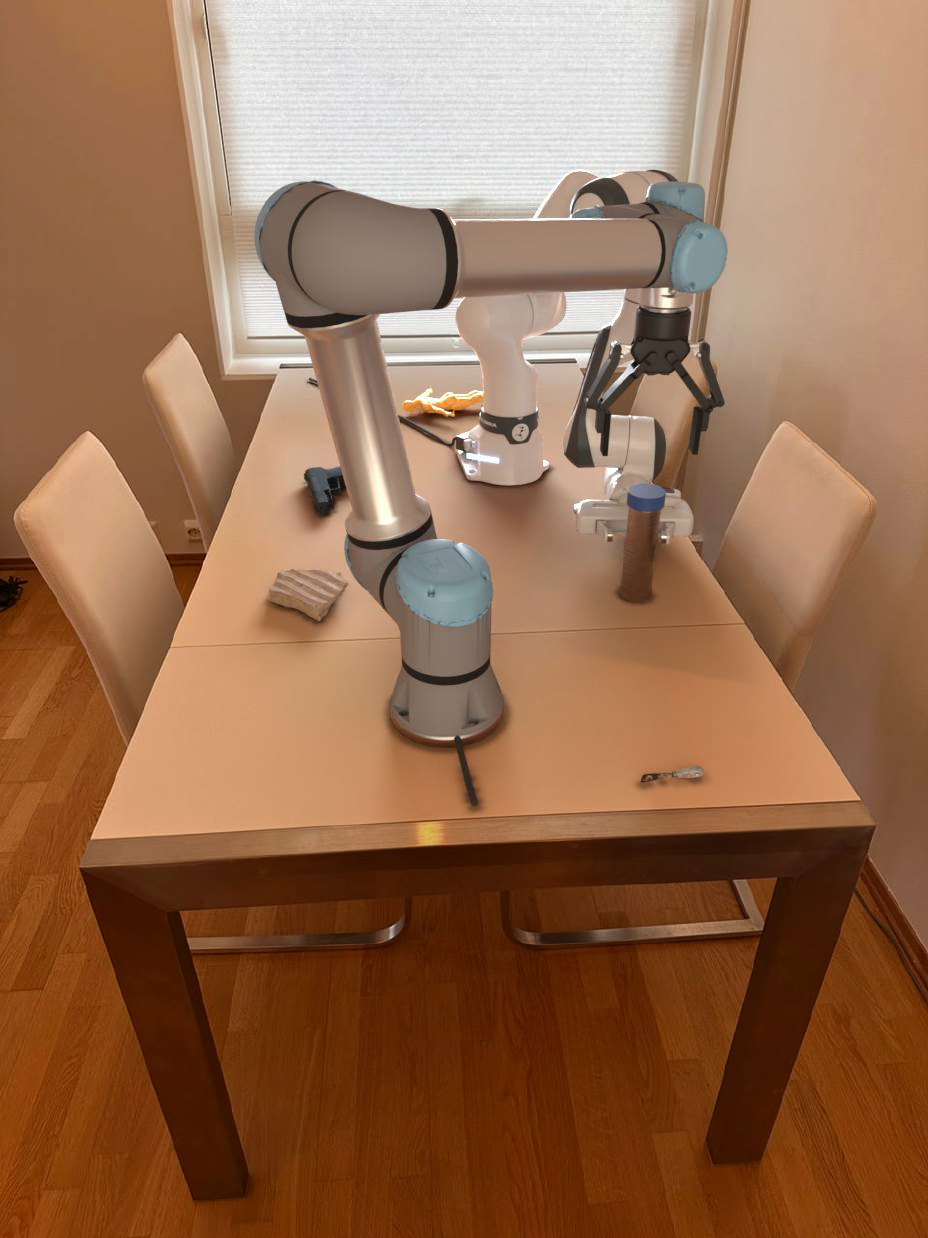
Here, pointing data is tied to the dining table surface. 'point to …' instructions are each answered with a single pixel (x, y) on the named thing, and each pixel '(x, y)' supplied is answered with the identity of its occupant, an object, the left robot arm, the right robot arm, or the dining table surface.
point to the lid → (646, 497)
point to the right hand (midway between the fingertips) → (636, 539)
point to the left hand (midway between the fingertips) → (648, 452)
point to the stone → (307, 590)
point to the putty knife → (674, 774)
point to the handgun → (324, 486)
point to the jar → (639, 555)
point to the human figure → (442, 402)
